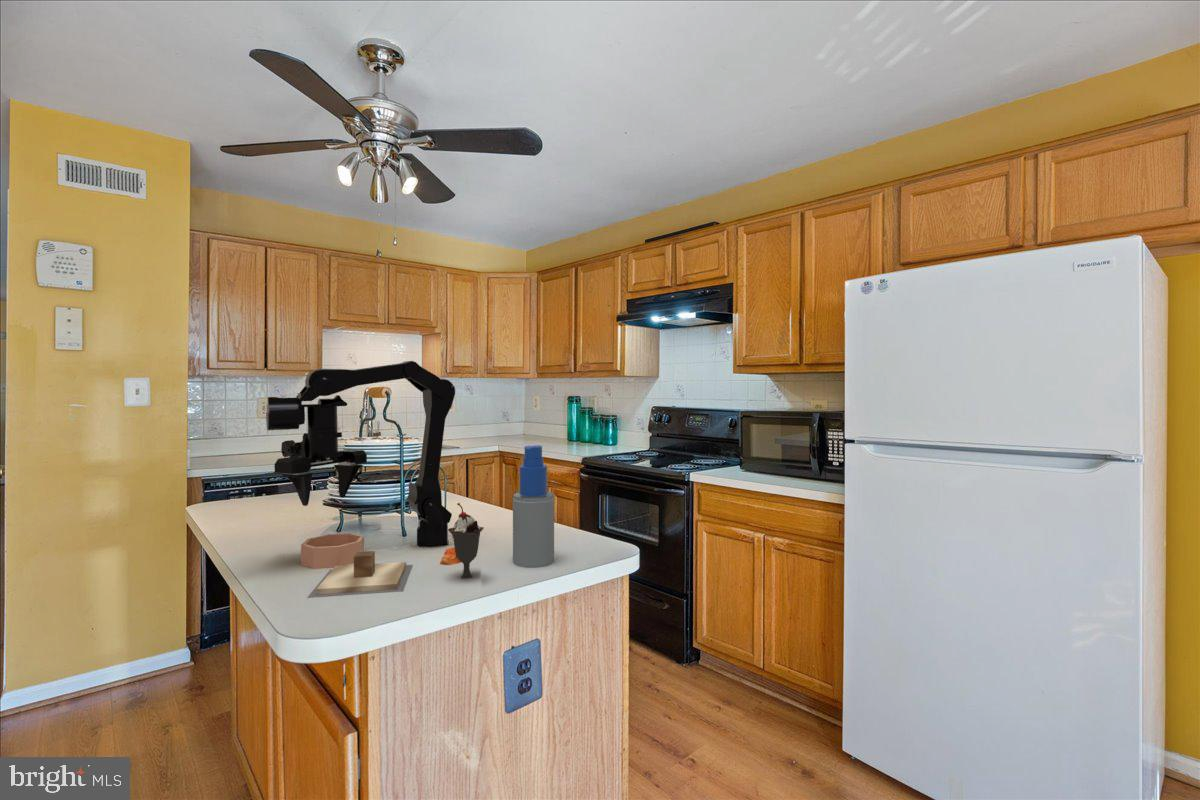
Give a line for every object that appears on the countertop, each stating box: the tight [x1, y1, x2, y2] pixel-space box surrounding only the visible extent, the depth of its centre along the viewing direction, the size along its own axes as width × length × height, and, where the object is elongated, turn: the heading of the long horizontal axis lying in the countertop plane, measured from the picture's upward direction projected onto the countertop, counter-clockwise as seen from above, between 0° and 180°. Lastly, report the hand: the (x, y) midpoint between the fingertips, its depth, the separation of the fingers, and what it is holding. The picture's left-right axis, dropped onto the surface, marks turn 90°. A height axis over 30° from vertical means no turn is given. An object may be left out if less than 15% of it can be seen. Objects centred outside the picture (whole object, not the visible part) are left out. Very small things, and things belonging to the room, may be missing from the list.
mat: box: [306, 564, 414, 599], centre depth 110 cm, size 16×16×1 cm
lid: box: [316, 550, 407, 595], centre depth 110 cm, size 14×14×5 cm
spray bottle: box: [512, 444, 555, 568], centre depth 124 cm, size 9×9×25 cm
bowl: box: [300, 532, 365, 570], centre depth 123 cm, size 12×12×5 cm
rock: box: [439, 547, 462, 566], centre depth 123 cm, size 12×12×4 cm
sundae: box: [448, 502, 485, 579], centre depth 112 cm, size 7×7×15 cm
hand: (324, 501), depth 122 cm, fingers open, 9 cm apart
